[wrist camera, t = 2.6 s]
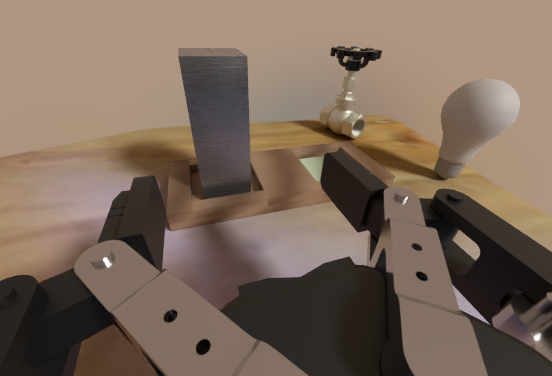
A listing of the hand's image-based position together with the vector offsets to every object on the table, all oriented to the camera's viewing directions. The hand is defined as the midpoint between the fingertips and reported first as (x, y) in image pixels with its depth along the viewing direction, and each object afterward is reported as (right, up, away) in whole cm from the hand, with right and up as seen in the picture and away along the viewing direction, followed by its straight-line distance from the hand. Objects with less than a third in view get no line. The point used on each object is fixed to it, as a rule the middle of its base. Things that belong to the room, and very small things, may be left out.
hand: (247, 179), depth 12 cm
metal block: (-4, 0, +13) cm, 14 cm away
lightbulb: (+21, +1, +18) cm, 28 cm away
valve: (+12, +8, +28) cm, 31 cm away
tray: (+2, 0, +15) cm, 15 cm away
